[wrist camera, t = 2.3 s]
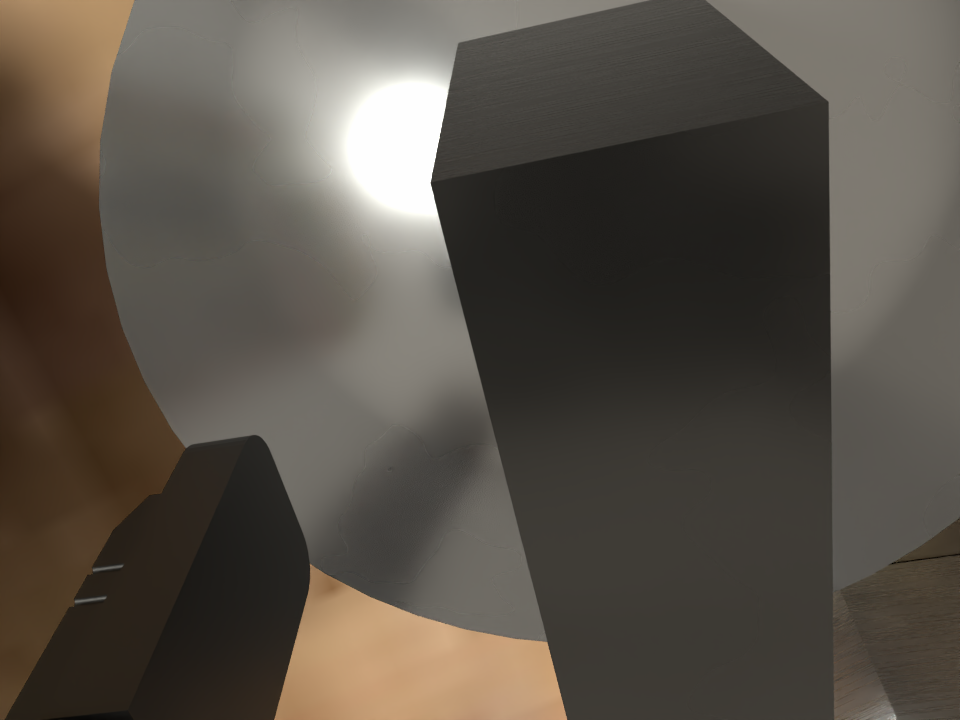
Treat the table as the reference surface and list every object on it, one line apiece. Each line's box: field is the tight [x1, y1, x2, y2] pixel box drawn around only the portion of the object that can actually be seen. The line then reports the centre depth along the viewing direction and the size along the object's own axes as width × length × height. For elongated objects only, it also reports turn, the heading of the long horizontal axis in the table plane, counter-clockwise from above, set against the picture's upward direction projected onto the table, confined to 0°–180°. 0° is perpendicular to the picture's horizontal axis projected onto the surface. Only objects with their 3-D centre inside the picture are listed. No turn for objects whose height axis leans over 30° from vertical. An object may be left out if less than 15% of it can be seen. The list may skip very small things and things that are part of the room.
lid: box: [99, 0, 960, 720], centre depth 10 cm, size 13×13×7 cm
